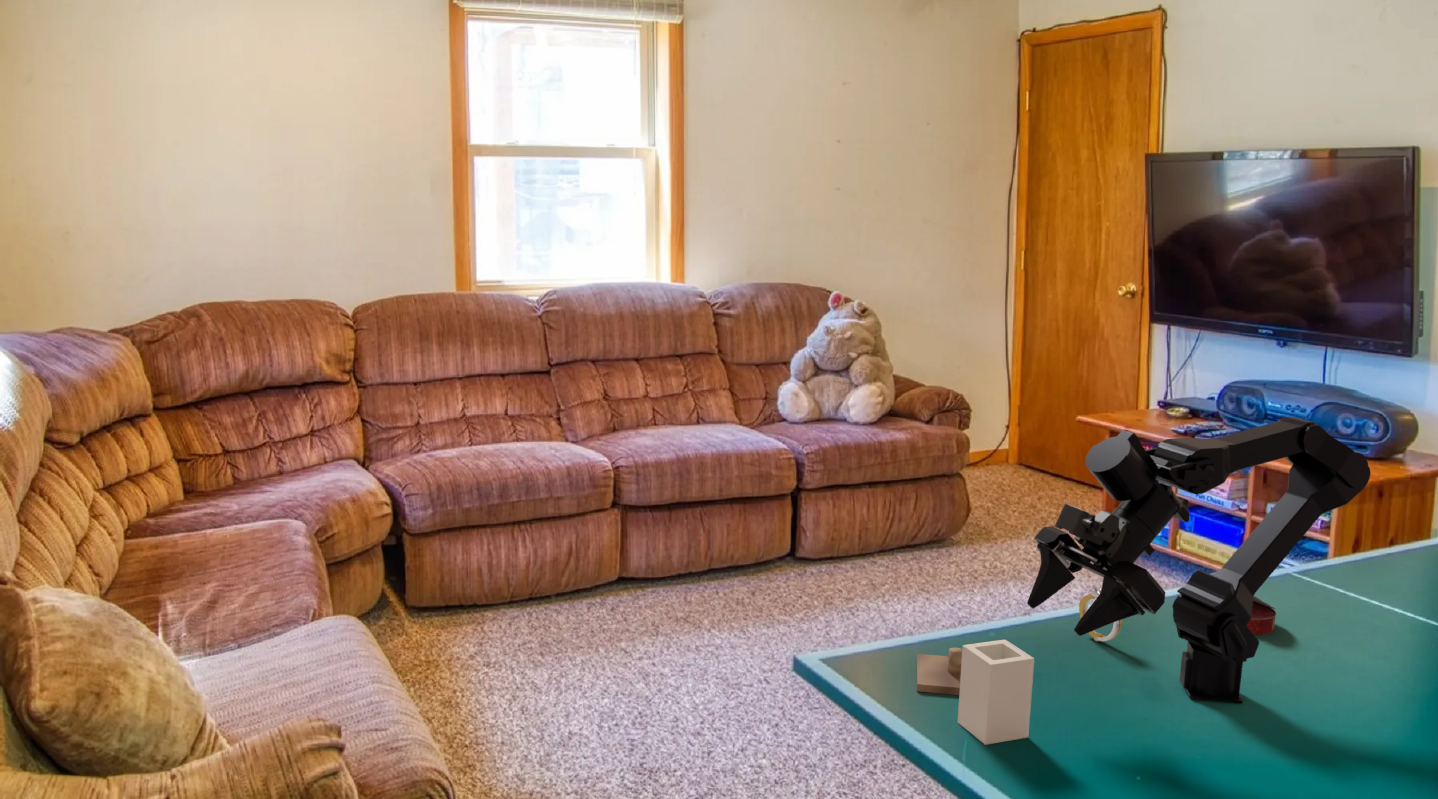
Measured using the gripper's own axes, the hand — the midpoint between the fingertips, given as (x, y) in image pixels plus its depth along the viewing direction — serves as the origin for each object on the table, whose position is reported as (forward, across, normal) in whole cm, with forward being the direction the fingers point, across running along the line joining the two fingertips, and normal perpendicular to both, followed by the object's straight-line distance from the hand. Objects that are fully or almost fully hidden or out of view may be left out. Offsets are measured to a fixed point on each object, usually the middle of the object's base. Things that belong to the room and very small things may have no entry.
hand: (1052, 619), depth 140 cm
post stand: (+12, -14, +6) cm, 20 cm away
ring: (-7, -19, +26) cm, 33 cm away
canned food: (-25, -18, +44) cm, 54 cm away
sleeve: (+15, 0, +4) cm, 15 cm away
